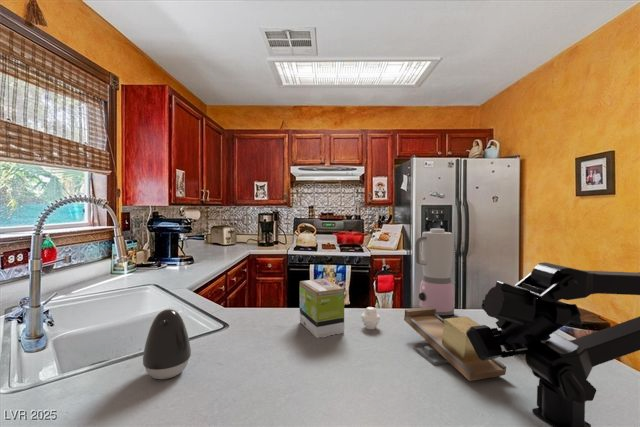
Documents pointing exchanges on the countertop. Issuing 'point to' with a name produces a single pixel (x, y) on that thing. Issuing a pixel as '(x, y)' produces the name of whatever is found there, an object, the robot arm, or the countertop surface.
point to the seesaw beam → (432, 332)
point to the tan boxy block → (459, 338)
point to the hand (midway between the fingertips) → (489, 353)
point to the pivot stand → (432, 355)
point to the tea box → (322, 307)
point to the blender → (436, 270)
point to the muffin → (370, 318)
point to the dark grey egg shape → (166, 346)
